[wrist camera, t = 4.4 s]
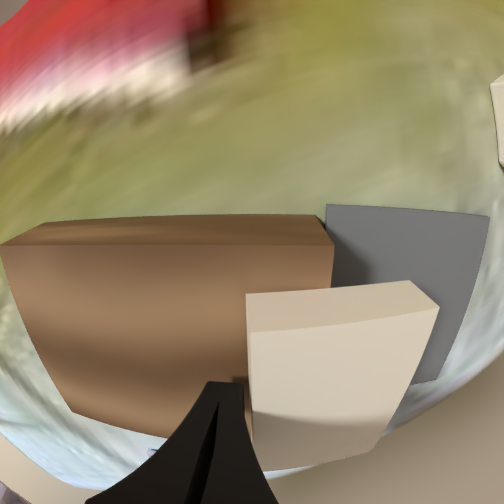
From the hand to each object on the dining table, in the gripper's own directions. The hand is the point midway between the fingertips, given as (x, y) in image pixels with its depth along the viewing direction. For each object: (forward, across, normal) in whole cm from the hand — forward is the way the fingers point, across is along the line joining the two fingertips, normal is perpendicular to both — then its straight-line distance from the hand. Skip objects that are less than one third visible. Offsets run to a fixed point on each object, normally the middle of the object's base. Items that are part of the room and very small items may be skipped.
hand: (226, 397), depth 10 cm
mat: (+5, -9, 0) cm, 10 cm away
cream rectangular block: (+1, -4, 0) cm, 4 cm away
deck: (+5, +4, 0) cm, 6 cm away
